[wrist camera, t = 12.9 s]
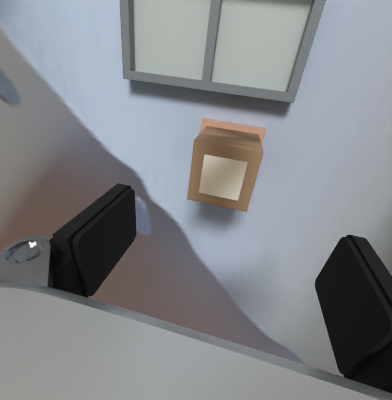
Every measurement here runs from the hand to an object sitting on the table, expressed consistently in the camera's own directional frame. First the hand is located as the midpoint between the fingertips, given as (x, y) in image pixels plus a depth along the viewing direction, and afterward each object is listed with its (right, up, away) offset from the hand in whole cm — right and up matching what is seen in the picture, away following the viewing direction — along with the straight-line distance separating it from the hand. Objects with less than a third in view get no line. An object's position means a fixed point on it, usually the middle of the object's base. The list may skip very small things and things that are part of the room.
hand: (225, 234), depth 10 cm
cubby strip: (0, +15, +8) cm, 17 cm away
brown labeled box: (+2, +6, +12) cm, 13 cm away
